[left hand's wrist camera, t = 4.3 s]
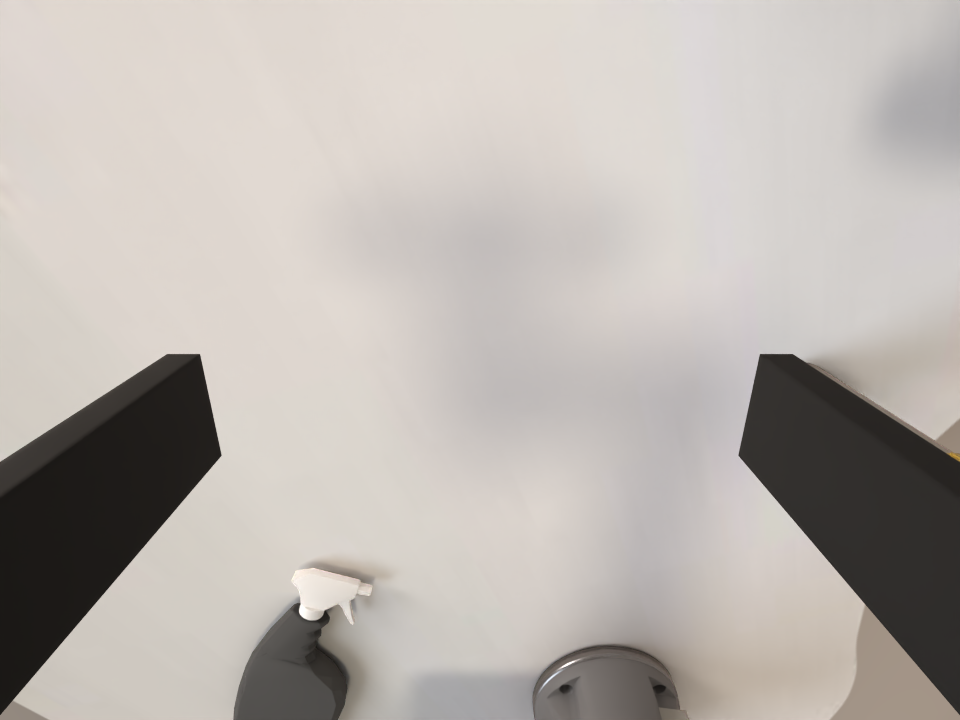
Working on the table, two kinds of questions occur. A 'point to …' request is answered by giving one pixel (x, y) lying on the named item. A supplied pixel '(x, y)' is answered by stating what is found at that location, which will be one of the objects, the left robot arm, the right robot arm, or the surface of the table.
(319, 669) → the spray bottle
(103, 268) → the table surface
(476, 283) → the table surface
